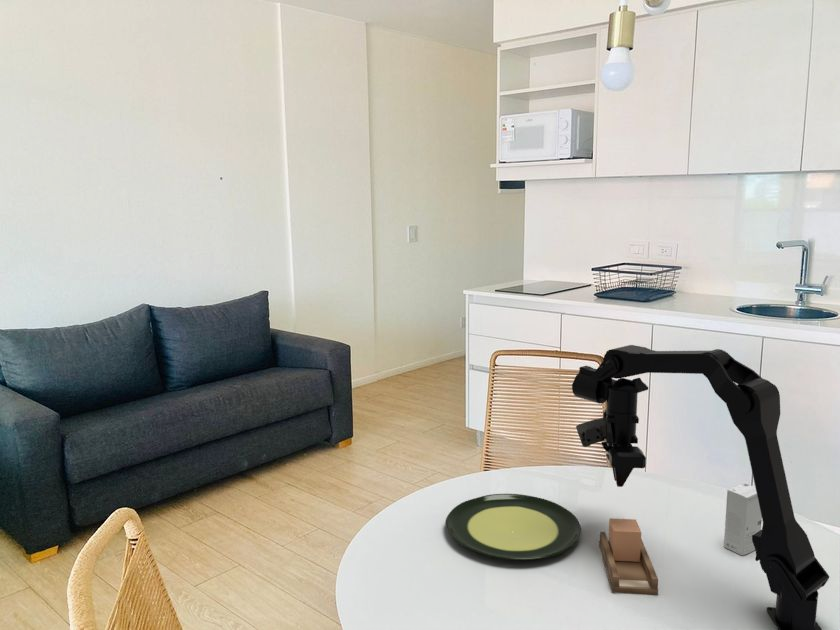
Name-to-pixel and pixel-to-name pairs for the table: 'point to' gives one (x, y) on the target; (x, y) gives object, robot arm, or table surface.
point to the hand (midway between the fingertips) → (618, 483)
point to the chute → (629, 571)
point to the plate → (513, 526)
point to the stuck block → (625, 539)
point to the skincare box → (741, 519)
